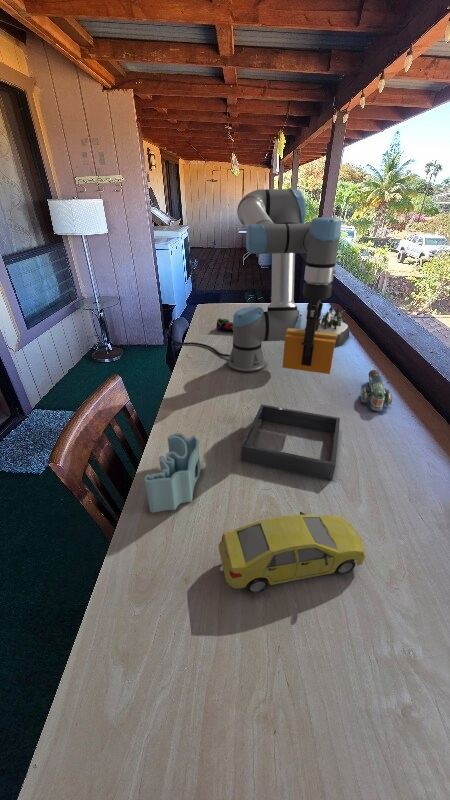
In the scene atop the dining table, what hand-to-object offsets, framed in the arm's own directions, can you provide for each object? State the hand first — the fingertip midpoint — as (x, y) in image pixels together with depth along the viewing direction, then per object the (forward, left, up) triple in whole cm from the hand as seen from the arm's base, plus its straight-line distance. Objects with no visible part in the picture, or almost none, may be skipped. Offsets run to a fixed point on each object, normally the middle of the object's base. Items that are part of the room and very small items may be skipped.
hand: (307, 359), depth 106 cm
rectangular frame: (0, -19, -19) cm, 27 cm away
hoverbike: (+23, +19, -19) cm, 35 cm away
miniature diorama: (+2, +72, -19) cm, 74 cm away
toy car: (+6, -56, -19) cm, 59 cm away
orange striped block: (0, 0, -2) cm, 2 cm away
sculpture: (-38, +67, -19) cm, 79 cm away
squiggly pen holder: (-24, -44, -19) cm, 54 cm away
